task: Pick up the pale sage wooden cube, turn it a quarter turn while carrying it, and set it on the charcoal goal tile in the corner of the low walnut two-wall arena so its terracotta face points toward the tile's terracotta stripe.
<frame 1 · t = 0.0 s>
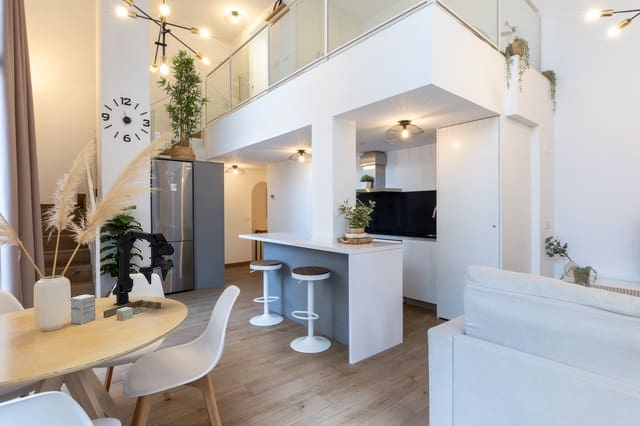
hand: (157, 282, 175), 15 cm above the table, tool pointing down, fingers open, 9 cm apart
sage cube: (124, 318, 159), on the table
goal tile: (136, 311, 170), on the table
supplement box: (83, 321, 156), on the table
arena: (133, 312, 168), on the table
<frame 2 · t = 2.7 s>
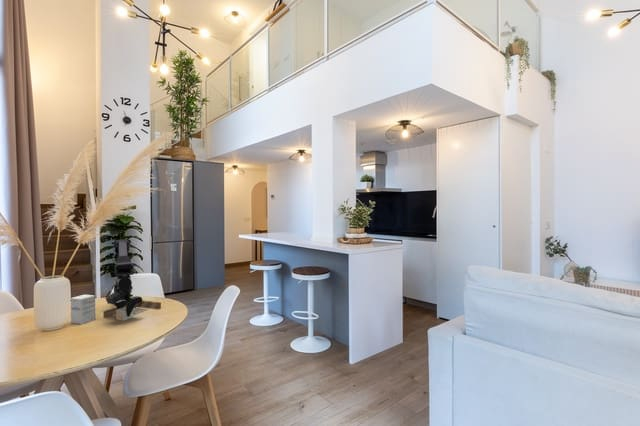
hand: (124, 315, 159), 1 cm above the table, tool pointing down, fingers closed on sage cube, 5 cm apart
sage cube: (124, 318, 159), on the table, touching gripper
everything else where it was.
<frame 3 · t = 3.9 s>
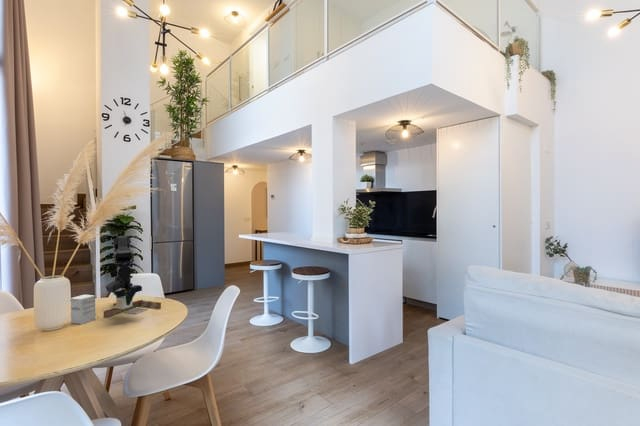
hand: (124, 304, 159), 7 cm above the table, tool pointing down, fingers closed on sage cube, 5 cm apart
sage cube: (124, 307, 159), point 6 cm above the table, touching gripper
everything else where it was.
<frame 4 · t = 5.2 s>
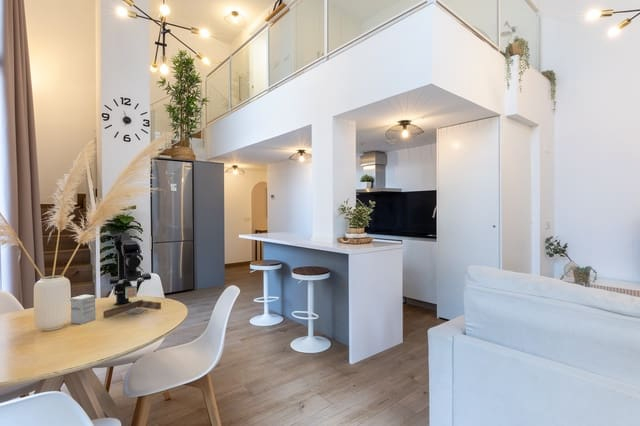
hand: (130, 294, 166), 11 cm above the table, tool pointing down, fingers closed on sage cube, 5 cm apart
sage cube: (130, 296, 166), point 9 cm above the table, touching gripper
everything else where it was.
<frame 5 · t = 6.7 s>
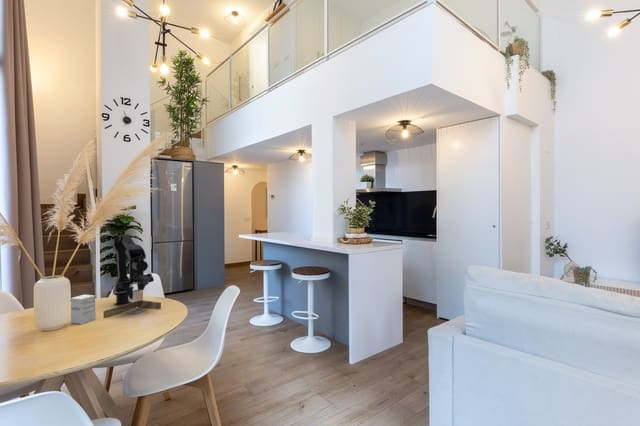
hand: (135, 297, 170), 8 cm above the table, tool pointing down, fingers closed on sage cube, 5 cm apart
sage cube: (135, 299, 170), point 6 cm above the table, touching gripper
everything else where it was.
when the fingers open (3 cm above the table, at t = 8.1 s): sage cube drops 1 cm, resting on goal tile.
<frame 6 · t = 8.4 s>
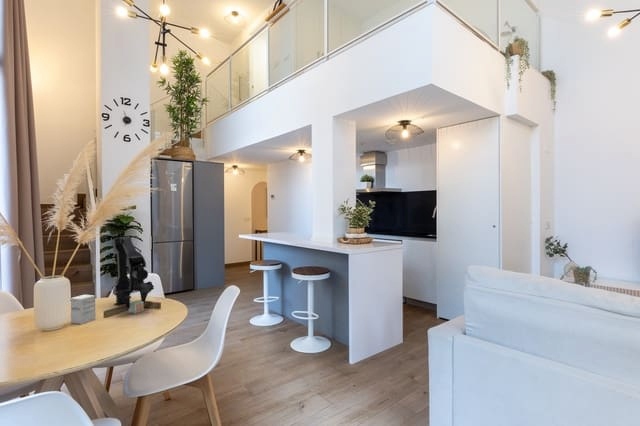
hand: (136, 306, 170), 3 cm above the table, tool pointing down, fingers open, 8 cm apart
sage cube: (136, 310, 170), resting on goal tile
everything else where it was.
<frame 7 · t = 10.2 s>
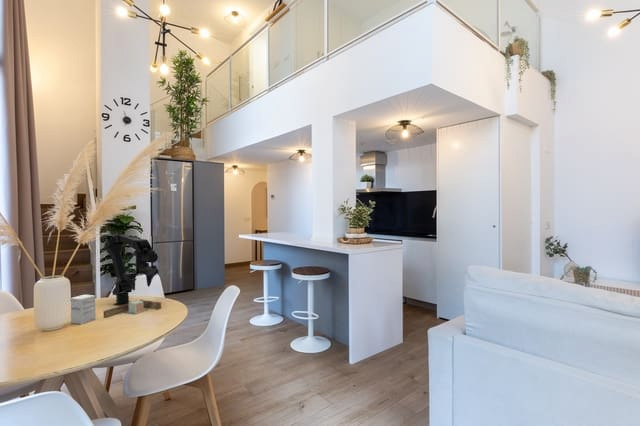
hand: (141, 288, 178), 11 cm above the table, tool pointing down, fingers open, 9 cm apart
nothing on the table moved.
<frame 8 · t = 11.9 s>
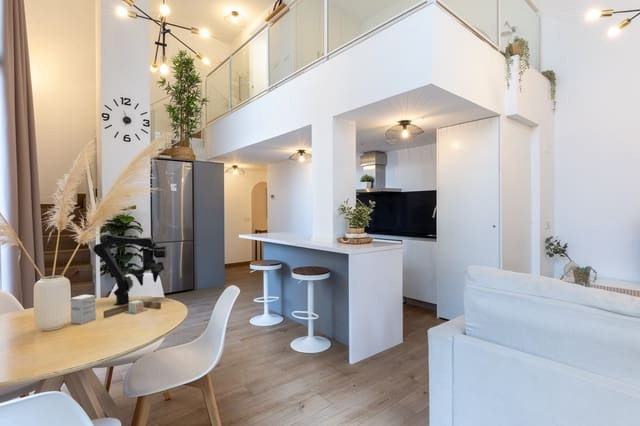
hand: (148, 283, 188), 11 cm above the table, tool pointing down, fingers open, 9 cm apart
nothing on the table moved.
at the end: sage cube 0.0 cm off-centre on the goal tile, point 0.3 cm above the goal tile's base; sage cube tilted 0°; the gripper is holding nothing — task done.
